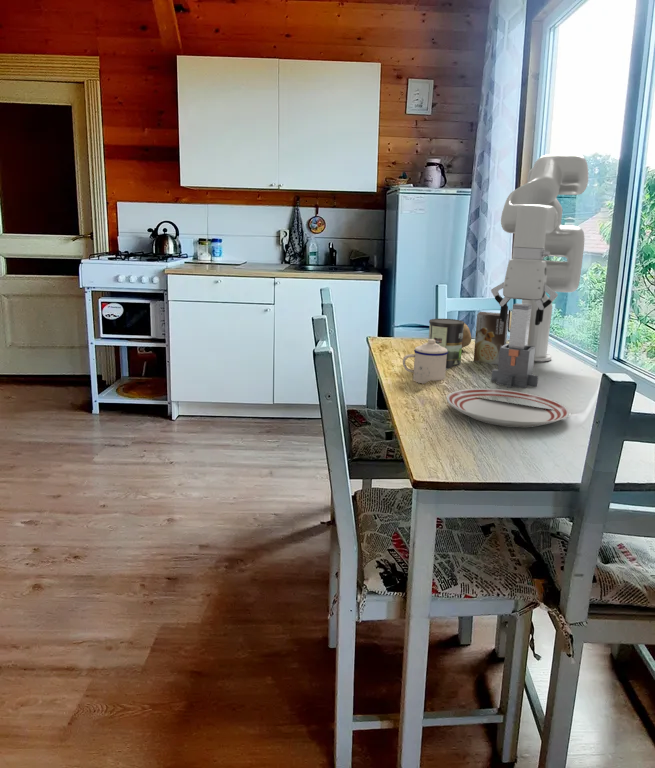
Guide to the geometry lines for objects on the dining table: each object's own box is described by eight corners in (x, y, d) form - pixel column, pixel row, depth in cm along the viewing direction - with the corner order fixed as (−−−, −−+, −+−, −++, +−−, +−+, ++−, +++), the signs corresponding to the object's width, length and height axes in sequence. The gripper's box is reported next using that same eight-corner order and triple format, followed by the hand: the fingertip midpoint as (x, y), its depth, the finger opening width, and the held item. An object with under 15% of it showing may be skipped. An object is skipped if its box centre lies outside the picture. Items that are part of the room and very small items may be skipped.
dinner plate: (509, 394, 166) (510, 382, 166) (595, 426, 143) (597, 411, 142) (422, 406, 154) (422, 392, 153) (500, 442, 131) (501, 426, 130)
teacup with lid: (443, 378, 181) (447, 337, 178) (447, 386, 172) (450, 343, 169) (401, 376, 182) (403, 335, 179) (402, 384, 173) (404, 341, 170)
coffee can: (460, 364, 198) (464, 319, 195) (460, 372, 189) (464, 324, 185) (427, 362, 200) (430, 317, 197) (425, 369, 191) (428, 322, 187)
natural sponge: (441, 346, 226) (444, 318, 224) (467, 347, 226) (469, 319, 223) (444, 351, 217) (447, 322, 215) (471, 352, 217) (474, 323, 214)
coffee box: (505, 364, 200) (510, 313, 196) (502, 368, 194) (507, 316, 190) (475, 361, 203) (480, 311, 199) (472, 365, 198) (476, 313, 194)
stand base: (496, 380, 180) (500, 341, 178) (540, 386, 175) (545, 346, 172) (485, 389, 170) (489, 348, 167) (531, 396, 165) (536, 353, 162)
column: (508, 380, 175) (516, 303, 170) (523, 382, 173) (532, 304, 168) (504, 383, 171) (512, 305, 166) (519, 385, 169) (528, 306, 164)
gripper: (565, 256, 163) (557, 324, 167) (497, 252, 171) (491, 317, 175) (561, 257, 156) (552, 328, 161) (490, 253, 164) (483, 321, 169)
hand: (520, 322), depth 168 cm, fingers open, 8 cm apart
